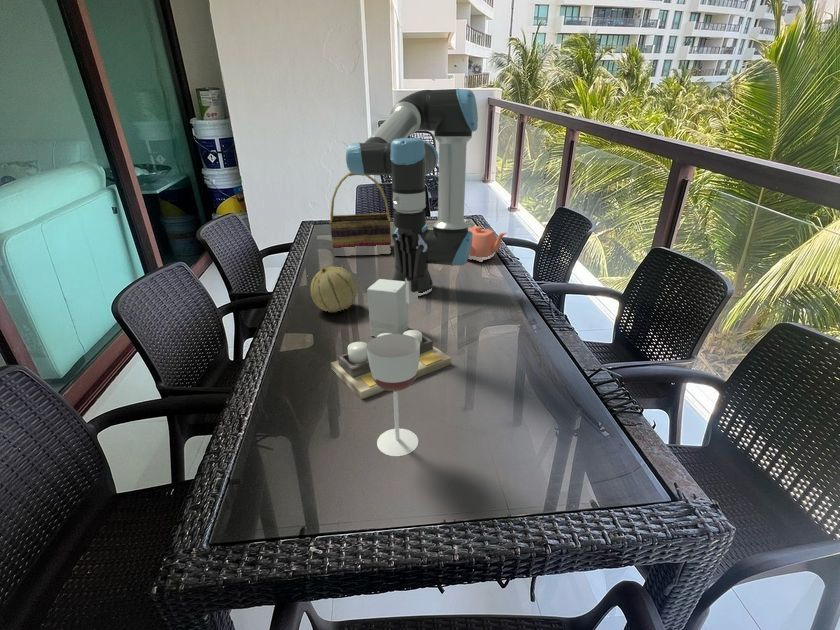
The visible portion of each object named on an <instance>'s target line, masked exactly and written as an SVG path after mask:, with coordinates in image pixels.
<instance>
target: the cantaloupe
mask: <svg viewBox="0 0 840 630" xmlns="http://www.w3.org/2000/svg"><path fill="white" fill-rule="evenodd" d="M357 292H358V287H357V282H356V280H355V278H354V276H353V274H351V272H349V271H348V270H346V269H345V268H343V267H340V266H329V267H326V268H325V267H324V268H321V269H320V270H319V271H318V272H317V273H316V274H315V275H314V276H313V278H312V280H311V283H310V296H311V298H312V301H313V303H314V304H315V305H316V306H317V308H319V309H321V310H322V311H324V312H327V311H328V312H327V313H338V312H337V311H340V312H342V311H341V310H343V311H345V310H344V309H346V310H347V309H349V308H350V307H351V306H352V305H353V303H354V301H356V298H357Z"/></svg>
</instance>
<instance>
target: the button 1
mask: <svg viewBox="0 0 840 630" xmlns="http://www.w3.org/2000/svg"><path fill="white" fill-rule="evenodd" d="M367 344H368V343H367V342H364V341H354V342H351V343H349V344H348V346H347V353H348V358H349V362H350V363H352V364H363V363H366V362H367V361H368V354H367Z"/></svg>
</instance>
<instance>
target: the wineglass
mask: <svg viewBox="0 0 840 630" xmlns="http://www.w3.org/2000/svg"><path fill="white" fill-rule="evenodd" d="M367 354H368V360H369V366H370V370H371V373H372V376H373V379H374V381H375V383H376V384H377V385H378V386H379V387H381V388H382V389H385V390H384V391H389V392H393V414H394V418H393V419H394V428H391V429H388V430H385V431H384V432H382V433H381V434H380V435H379V437H378V438H377V441H376V445H377V448H378V450H379V451H380V452H381V453H383V454H385V455H387V456H390V457H401V456H406V455H408V454H410V453H413V451H414V450H416V448H417V447H418V445H419V438H418V436H417V434H415V433H414V432H413V431H411V430H409V429H406V428H400V422H399V421H400V417H399V416H400V415H399V393H398V392H399V391H403V390H406V389H407V388H409V387H411V386H412V385H413V383H414V382H415V381H416V379H417V378H416V375H417V370H418V365H419V356H420V343H419V341H418V340H417V339H416V338H414V337H412V336H409V335H404V334H388V335H382V336H379V337H373V338H372V339H371V340H370V341H368V343H367Z"/></svg>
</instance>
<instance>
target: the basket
mask: <svg viewBox="0 0 840 630" xmlns="http://www.w3.org/2000/svg"><path fill="white" fill-rule="evenodd" d="M352 176H362V177H363V176H365V177H367V178H368V179H369V180H371V181H372V182H373V183H374V184H375V186H376V187H377V188H378V190H379V191H380V193H381V196H382V198H383V200H384V205H385V209H386V212H382V213H381V212H380V213H363V214H362V213H360V214H339V215H338V214H336V215H334V207H335V205H334V204H335V198H336V195H337V193H338V190H339V188H340V186H341V185H342V183H343V182H344V181H345V180H346V179H347V178H348V177H352ZM330 201H331V203H330V216H329V217H330V218H329V222H328V224H329V225H330V234H331V236H330V237H331V242H332V244H331V245H332V246H331V247H332V249H333V248H341V247H355V246H376V245H390V244H391V245H392V241H391V240H392V239H391V236H392V235H391V221H392V219H391V215H390V212H389V211H390V210H389V205H388V202H387V201H388V200H387V196H386V194H385V192H384V190H383V187H382V186H381V185H380V184H379V182H378V181H377V180H376V179H375V178H374V177H372V175H360V174H353V173H351V172H350V171H349V173H346V174H345V175H344V176H343V177H342V178H340V181H338V183H337V185H336V186H335V188H334V191H333V194H332V198H331V200H330Z"/></svg>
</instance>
